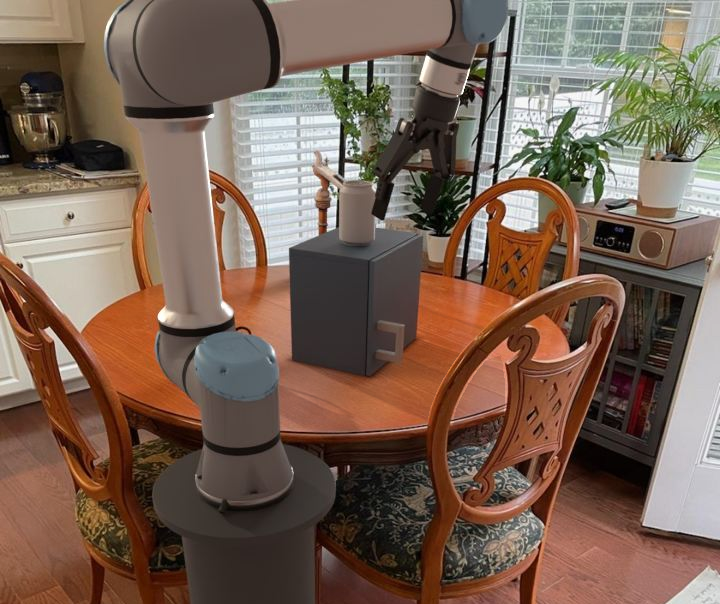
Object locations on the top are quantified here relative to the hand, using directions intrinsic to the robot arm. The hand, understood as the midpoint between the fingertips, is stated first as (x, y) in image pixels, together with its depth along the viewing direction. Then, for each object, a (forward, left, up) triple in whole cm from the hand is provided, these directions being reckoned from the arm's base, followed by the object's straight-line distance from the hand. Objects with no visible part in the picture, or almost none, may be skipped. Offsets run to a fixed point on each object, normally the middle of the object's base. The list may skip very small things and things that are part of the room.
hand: (402, 214), depth 131 cm
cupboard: (+13, +16, -34) cm, 39 cm away
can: (+11, +15, -9) cm, 21 cm away
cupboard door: (+13, +3, -33) cm, 36 cm away
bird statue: (+63, +48, -34) cm, 86 cm away
